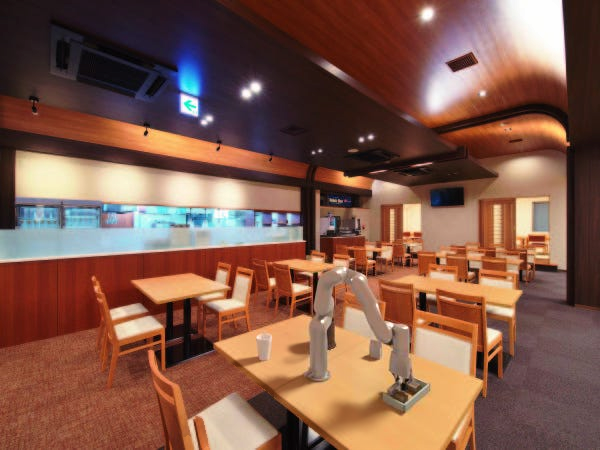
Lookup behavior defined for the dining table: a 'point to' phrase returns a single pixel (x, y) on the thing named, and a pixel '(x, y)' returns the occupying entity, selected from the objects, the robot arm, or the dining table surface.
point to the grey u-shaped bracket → (411, 401)
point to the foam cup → (264, 346)
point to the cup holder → (330, 335)
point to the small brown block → (414, 387)
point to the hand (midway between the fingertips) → (400, 388)
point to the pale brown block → (375, 349)
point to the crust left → (401, 397)
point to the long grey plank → (396, 388)
